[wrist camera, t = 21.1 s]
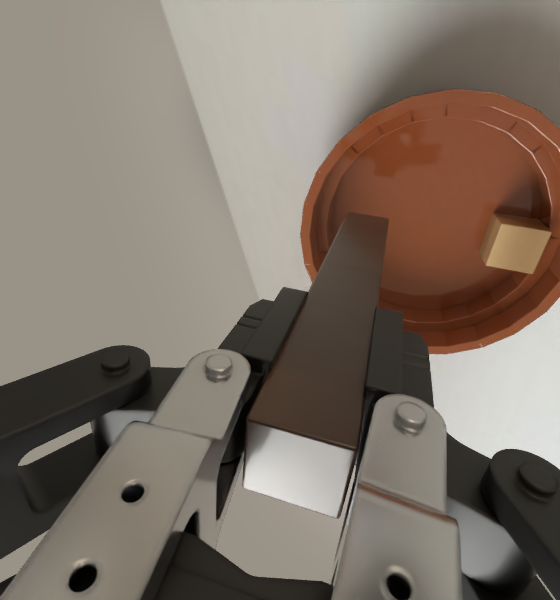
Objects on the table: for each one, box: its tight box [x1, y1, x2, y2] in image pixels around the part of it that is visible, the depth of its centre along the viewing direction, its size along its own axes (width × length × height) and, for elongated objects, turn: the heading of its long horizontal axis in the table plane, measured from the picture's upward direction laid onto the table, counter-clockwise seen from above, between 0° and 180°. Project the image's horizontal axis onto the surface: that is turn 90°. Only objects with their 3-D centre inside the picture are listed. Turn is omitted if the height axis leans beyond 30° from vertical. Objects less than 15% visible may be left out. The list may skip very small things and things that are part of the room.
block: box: [479, 212, 552, 274], centre depth 26 cm, size 3×3×3 cm
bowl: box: [300, 89, 560, 354], centre depth 27 cm, size 17×17×5 cm
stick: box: [242, 212, 389, 518], centre depth 13 cm, size 2×2×14 cm
